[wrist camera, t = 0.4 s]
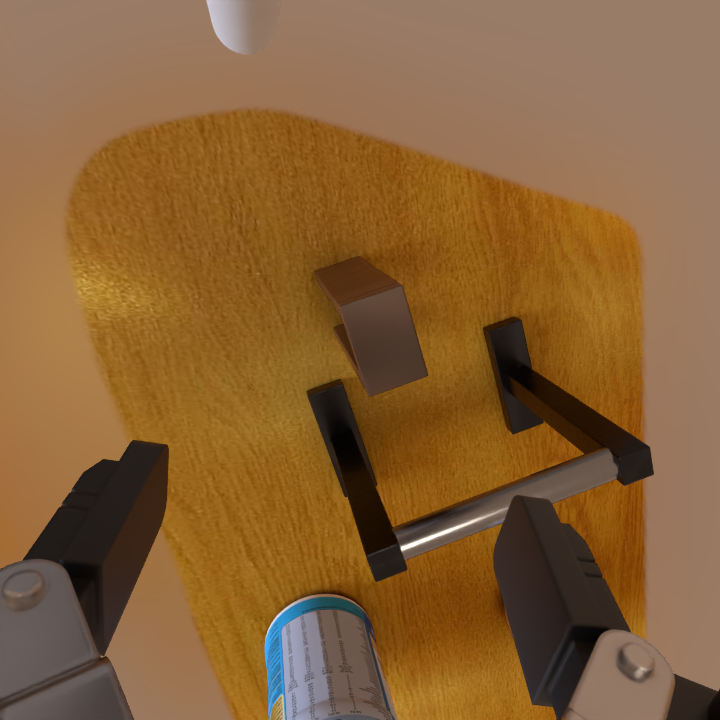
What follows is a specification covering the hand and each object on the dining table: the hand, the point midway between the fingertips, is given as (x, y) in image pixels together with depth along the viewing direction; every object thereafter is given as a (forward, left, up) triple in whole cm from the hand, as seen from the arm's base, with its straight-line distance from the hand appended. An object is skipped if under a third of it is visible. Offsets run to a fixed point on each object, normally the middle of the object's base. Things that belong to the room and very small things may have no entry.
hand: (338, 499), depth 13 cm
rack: (+10, +7, -24) cm, 27 cm away
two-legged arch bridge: (+1, +4, -24) cm, 24 cm away
